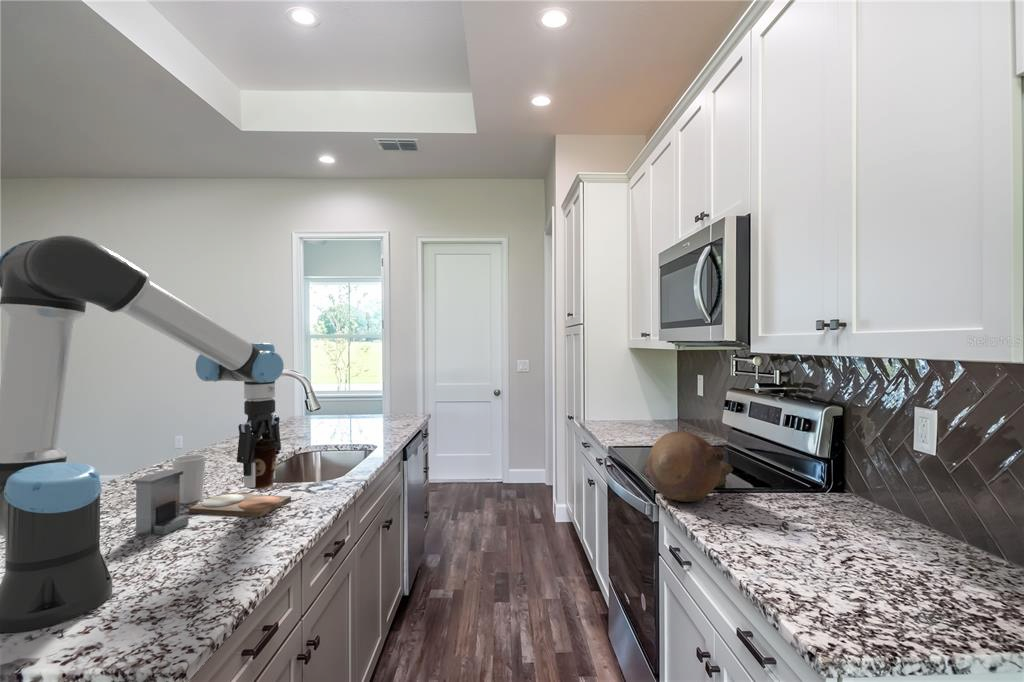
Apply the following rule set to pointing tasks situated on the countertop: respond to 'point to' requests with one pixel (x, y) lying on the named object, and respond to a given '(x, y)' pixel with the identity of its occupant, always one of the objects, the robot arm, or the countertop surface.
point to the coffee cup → (264, 462)
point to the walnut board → (240, 504)
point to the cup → (190, 476)
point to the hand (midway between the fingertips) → (260, 482)
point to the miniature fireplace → (159, 503)
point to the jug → (686, 466)
